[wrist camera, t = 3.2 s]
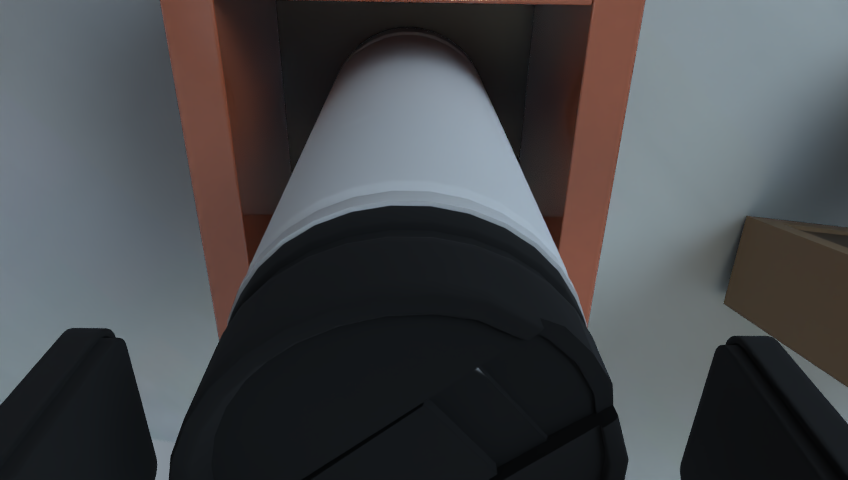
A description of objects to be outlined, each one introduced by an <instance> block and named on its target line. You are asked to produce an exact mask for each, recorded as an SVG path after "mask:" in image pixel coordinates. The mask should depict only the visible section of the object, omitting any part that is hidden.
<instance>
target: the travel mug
mask: <svg viewBox="0 0 848 480" xmlns="http://www.w3.org/2000/svg"><path fill="white" fill-rule="evenodd" d="M627 465H628V455H627V451H626V447H625V443H624V439H623V434H622V430H621V426H620V422H619V418H618V415H617V412H616V410H615V408H614V406H613V386H612V382H611V380H610V377H609V375H608V372H607V370H606V368H605V365H604V363H603V361H602V358H601V356H600V354H599V351H598V349H597V347H596V344H595V342H594V340H593V337H592V335H591V334H590V332H589V331H588V329H587V323H586V320H585V317H584V314H583V310H582V307H581V304H580V301H579V298H578V295H577V292H576V290H575V288H574V286H573V284H572V282H571V280H570V279H569V277H568V274H567V271H566V268H565V266H564V263H563V261H562V259H561V257H560V255H559V252H558V250H557V248H556V246H555V243H554V241H553V239H552V237H551V234H550V232H549V230H548V228H547V226H546V223H545V221H544V219H543V217H542V214H541V212H540V210H539V208H538V206H537V203H536V201H535V199H534V197H533V194H532V192H531V190H530V188H529V185H528V183H527V181H526V179H525V177H524V174H523V172H522V170H521V168H520V165H519V163H518V161H517V159H516V156H515V154H514V152H513V150H512V148H511V145H510V143H509V141H508V139H507V136H506V134H505V132H504V130H503V128H502V125H501V123H500V121H499V119H498V116H497V114H496V112H495V110H494V107H493V105H492V103H491V101H490V99H489V96H488V94H487V92H486V90H485V87H484V85H483V83H482V81H481V78H480V76H479V74H478V72H477V70H476V68H475V67H474V65H473V63H472V61H471V60H470V58H469V57H468V56H467V55H466V54H465V53H464V52H463V50H462V49H461V48H460V47H459V46H457V45H456V44H455V43H453V42H452V41H450V40H449V39H448V38H446V37H444V36H442V35H439V34H437V33H435V32H433V31H429V30H424V29H420V28H397V29H392V30H386V31H384V32H382V33H379V34H377V35H374V36H372V37H370V38H369V39H368V40H366V41H365V42H363V43H362V44H360V45H359V46H358V47H357V48H356V49H355V50H354V51H353V52H352V53H351V54H350V55H349V56H348V58H347V60H346V61H345V63H344V64H343V66H342V67H341V69H340V71H339V73H338V76H337V78H336V80H335V82H334V84H333V86H332V89H331V91H330V93H329V95H328V97H327V99H326V102H325V104H324V106H323V108H322V110H321V112H320V115H319V117H318V119H317V121H316V123H315V125H314V128H313V130H312V132H311V134H310V136H309V138H308V140H307V143H306V145H305V147H304V149H303V151H302V153H301V156H300V158H299V160H298V162H297V164H296V166H295V169H294V171H293V173H292V175H291V177H290V179H289V182H288V184H287V186H286V188H285V190H284V192H283V195H282V197H281V199H280V201H279V203H278V205H277V208H276V210H275V212H274V214H273V216H272V218H271V221H270V223H269V225H268V227H267V229H266V231H265V234H264V236H263V238H262V240H261V242H260V244H259V247H258V249H257V251H256V253H255V255H254V257H253V260H252V262H251V264H250V266H249V269H248V272H247V275H246V276H245V278H244V279H243V281H242V283H241V285H240V288H239V290H238V292H237V295H236V298H235V301H234V303H233V306H232V309H231V312H230V315H229V317H228V320H227V328H226V329H225V331H224V332H223V334H222V336H221V338H220V340H219V343H218V345H217V347H216V349H215V352H214V354H213V356H212V358H211V360H210V363H209V365H208V367H207V369H206V372H205V374H204V376H203V378H202V380H201V383H200V385H199V387H198V389H197V392H196V394H195V396H194V398H193V400H192V403H191V405H190V407H189V409H188V411H187V414H186V416H185V418H184V421H183V423H182V426H181V429H180V432H179V434H178V437H177V440H176V443H175V446H174V448H173V451H172V454H171V458H170V472H169V480H624V479H625V475H626V470H627Z"/></svg>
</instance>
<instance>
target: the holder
mask: <svg viewBox="0 0 848 480" xmlns="http://www.w3.org/2000/svg"><path fill="white" fill-rule="evenodd" d="M288 1H349V2H409V3H470V4H531V5H535V6H534V16H533V26H532V36H531V47H530V57H529V67H528V78H527V88H526V98H525V109H524V119H523V129H522V140H521V150H520V160H519V165H520V168H521V170H522V172H523V174H524V177H525V179H526V181H527V183H528V185H529V188H530V190H531V192H532V194H533V197H534V199H535V201H536V203H537V206H538V208H539V210H540V212H541V214H542V217H543V219H544V221H545V223H546V226H547V228H548V230H549V232H550V234H551V237H552V239H553V241H554V243H555V246H556V248H557V250H558V252H559V255H560V257H561V259H562V261H563V263H564V266H565V268H566V271H567V274H568V277H569V279H570V280H571V282H572V284H573V286H574V288H575V290H576V292H577V295H578V298H579V301H580V304H581V307H582V310H583V314H584V317H585V320H586V323H587V327H588V322H589V316H590V310H591V305H592V299H593V293H594V288H595V282H596V276H597V271H598V265H599V259H600V254H601V248H602V242H603V237H604V231H605V226H606V220H607V214H608V209H609V203H610V197H611V192H612V186H613V180H614V175H615V169H616V163H617V158H618V152H619V147H620V141H621V135H622V130H623V124H624V118H625V113H626V107H627V101H628V96H629V90H630V84H631V79H632V73H633V67H634V62H635V56H636V51H637V45H638V39H639V34H640V28H641V22H642V17H643V11H644V5H645V0H288ZM160 5H161V10H162V16H163V22H164V27H165V33H166V39H167V45H168V50H169V56H170V62H171V67H172V73H173V79H174V85H175V90H176V96H177V102H178V107H179V113H180V119H181V125H182V130H183V136H184V142H185V147H186V153H187V159H188V164H189V170H190V176H191V182H192V187H193V193H194V199H195V204H196V210H197V216H198V222H199V227H200V233H201V239H202V244H203V250H204V256H205V262H206V267H207V273H208V279H209V284H210V290H211V296H212V302H213V307H214V313H215V319H216V324H217V330H218V336H219V340H220V338H221V336H222V334H223V332H224V331H225V329H226V328H227V320H228V317H229V315H230V312H231V309H232V306H233V303H234V301H235V298H236V295H237V292H238V290H239V288H240V285H241V283H242V281H243V279H244V278H245V276H246V275H247V272H248V269H249V266H250V264H251V262H252V260H253V257H254V255H255V253H256V251H257V249H258V247H259V244H260V242H261V240H262V238H263V236H264V234H265V231H266V229H267V227H268V225H269V223H270V221H271V218H272V216H273V214H274V212H275V210H276V208H277V205H278V203H279V201H280V199H281V197H282V195H283V192H284V190H285V188H286V186H287V184H288V182H289V179H290V177H291V164H290V153H289V142H288V131H287V120H286V109H285V98H284V87H283V76H282V65H281V54H280V43H279V32H278V21H277V10H276V0H160Z"/></svg>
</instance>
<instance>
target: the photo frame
mask: <svg viewBox="0 0 848 480" xmlns="http://www.w3.org/2000/svg"><path fill="white" fill-rule="evenodd" d="M723 304H725V305H726V306H728V307H729V308H731V309H732V310H734V311H735V312H737V313H738V314H740V315H741V316H743V317H744V318H746V319H747V320H749V321H750V322H752V323H753V324H755V325H756V326H758V327H759V328H760V329H762V330H763V331H765V332H766V333H768V334H769V335H771V336H772V337H774V338H775V339H777V340H778V341H780V342H781V343H783V344H784V345H786V346H787V347H789V348H790V349H792V350H793V351H795V352H796V353H798V354H799V355H801V356H802V357H803V358H805V359H806V360H808V361H809V362H811V363H812V364H814V365H815V366H817V367H818V368H820V369H821V370H823V371H824V372H826V373H827V374H829V375H830V376H832V377H833V378H835V379H836V380H838V381H839V382H841V383H842V384H844V385H845V386H846V387H848V228H847V227H838V226H830V225H821V224H812V223H804V222H795V221H787V220H778V219H769V218H761V217H752V216H746V220H745V224H744V228H743V232H742V235H741V239H740V243H739V247H738V250H737V254H736V258H735V262H734V266H733V269H732V273H731V277H730V281H729V285H728V288H727V292H726V296H725V300H724V303H723Z"/></svg>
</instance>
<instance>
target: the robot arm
mask: <svg viewBox="0 0 848 480" xmlns="http://www.w3.org/2000/svg"><path fill="white" fill-rule="evenodd" d="M156 471H157V459H156V455H155V451H154V447H153V443H152V439H151V436H150V432H149V428H148V424H147V421H146V417H145V413H144V409H143V406H142V402H141V398H140V394H139V391H138V387H137V383H136V379H135V376H134V372H133V368H132V364H131V361H130V357H129V353H128V349H127V346H126V343H125V341H124V340H123V339H121V338H116V337H115V334H114V333H113V332H112V331H111V330H110V329H107V328H71V329H67V330H66V331H65V332H64V333H63V334H62V335H61V336H60V337H59V338H58V340H57V341H56V342H55V343H54V344H53V345H52V346H51V348H50V349H49V350H48V351H47V352H46V353H45V354H44V356H43V357H42V358H41V359H40V360H39V361H38V363H37V364H36V365H35V366H34V367H33V368H32V369H31V371H30V372H29V373H28V374H27V375H26V376H25V378H24V379H23V380H22V381H21V382H20V383H19V384H18V386H17V387H16V388H15V389H14V390H13V391H12V393H11V394H10V395H9V396H8V397H7V398H6V399H5V401H4V402H3V403H2V404H1V405H0V480H155V477H156ZM680 475H681V480H848V424H847V423H846V421H845V420H844V419H843V418H842V417H841V416H840V414H839V413H838V412H837V411H836V410H835V408H834V407H833V406H832V405H831V404H830V403H829V401H828V400H827V399H826V398H825V397H824V395H823V394H822V393H821V392H820V391H819V390H818V388H817V387H816V386H815V385H814V384H813V382H812V381H811V380H810V379H809V378H808V377H807V375H806V374H805V373H804V372H803V371H802V370H801V368H800V367H799V366H798V365H797V364H796V362H795V361H794V360H793V359H792V358H791V357H790V355H789V354H788V353H787V352H786V351H785V349H784V348H783V347H782V346H781V345H780V344H779V342H778V341H776V340H775V339H774V338H772V337H769V336H733V337H730V338H729V339H728V340H727V342H726V344H725V345H720V346H718V348H717V349H716V351H715V353H714V357H713V360H712V363H711V366H710V370H709V373H708V376H707V380H706V383H705V386H704V389H703V393H702V396H701V399H700V402H699V406H698V409H697V412H696V416H695V419H694V422H693V425H692V429H691V432H690V435H689V438H688V442H687V445H686V448H685V452H684V455H683V458H682V461H681V466H680Z"/></svg>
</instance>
